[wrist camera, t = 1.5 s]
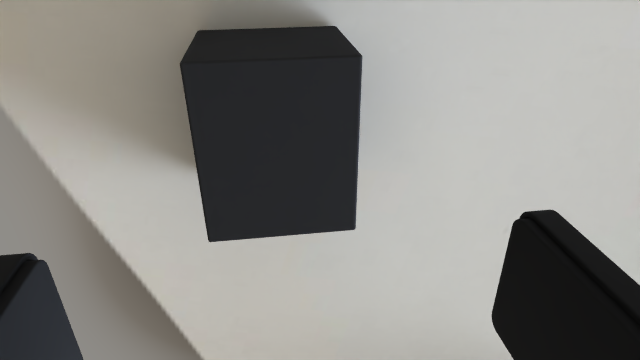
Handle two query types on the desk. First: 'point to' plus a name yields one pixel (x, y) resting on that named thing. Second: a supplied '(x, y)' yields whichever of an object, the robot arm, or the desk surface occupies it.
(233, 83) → the dark grey block
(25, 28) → the desk surface
